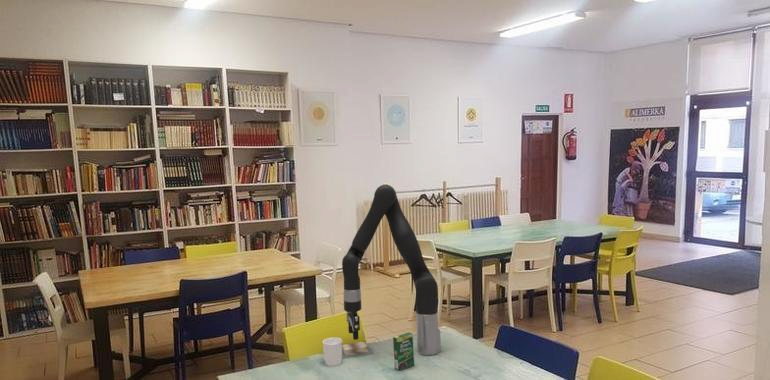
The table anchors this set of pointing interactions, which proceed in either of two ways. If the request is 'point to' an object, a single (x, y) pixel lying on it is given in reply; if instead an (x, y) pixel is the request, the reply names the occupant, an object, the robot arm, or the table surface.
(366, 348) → the lid board
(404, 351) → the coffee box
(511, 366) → the table surface
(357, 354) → the mat
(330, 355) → the white cup
